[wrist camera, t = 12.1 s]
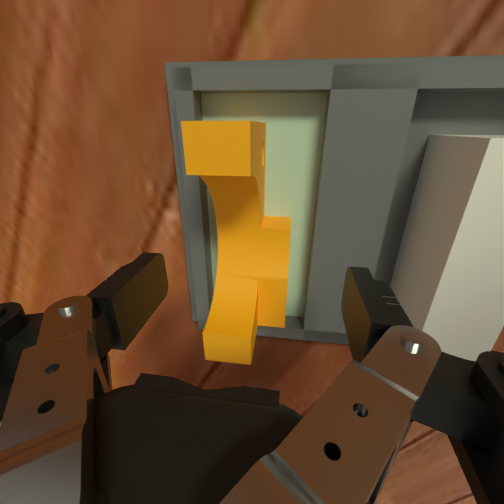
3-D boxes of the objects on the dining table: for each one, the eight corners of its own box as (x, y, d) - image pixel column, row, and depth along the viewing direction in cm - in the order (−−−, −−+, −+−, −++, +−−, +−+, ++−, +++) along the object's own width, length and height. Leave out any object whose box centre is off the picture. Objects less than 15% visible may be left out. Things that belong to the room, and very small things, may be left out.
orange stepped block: (285, 298, 20) (283, 368, 14) (229, 294, 21) (205, 359, 15) (297, 122, 15) (299, 120, 9) (222, 123, 16) (180, 121, 10)
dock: (600, 57, 13) (815, 9, 8) (470, 339, 21) (532, 413, 15) (171, 66, 16) (109, 35, 10) (196, 313, 23) (167, 369, 18)
